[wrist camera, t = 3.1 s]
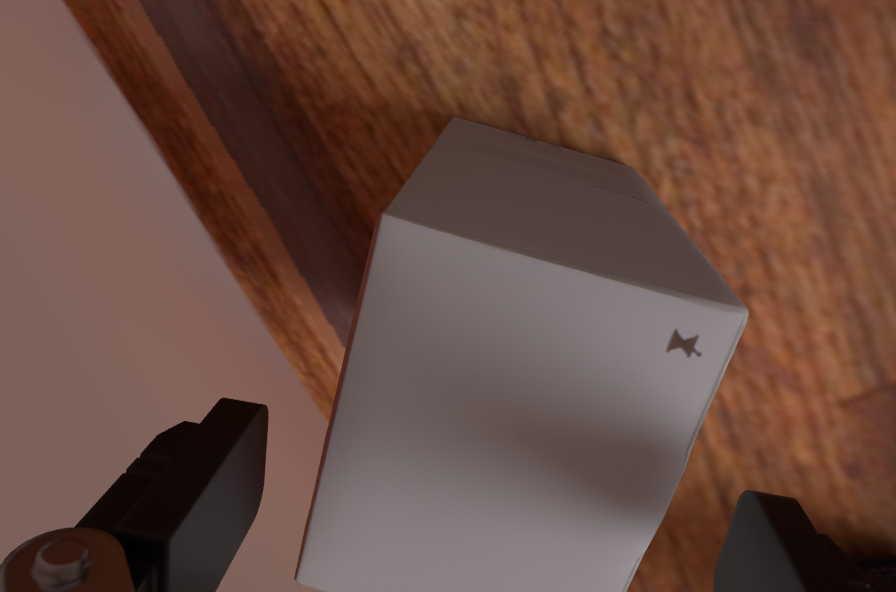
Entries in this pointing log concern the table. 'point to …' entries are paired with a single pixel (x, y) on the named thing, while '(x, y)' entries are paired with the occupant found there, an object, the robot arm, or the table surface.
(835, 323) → the table surface
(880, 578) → the mate gourd
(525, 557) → the small box
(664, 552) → the table surface
